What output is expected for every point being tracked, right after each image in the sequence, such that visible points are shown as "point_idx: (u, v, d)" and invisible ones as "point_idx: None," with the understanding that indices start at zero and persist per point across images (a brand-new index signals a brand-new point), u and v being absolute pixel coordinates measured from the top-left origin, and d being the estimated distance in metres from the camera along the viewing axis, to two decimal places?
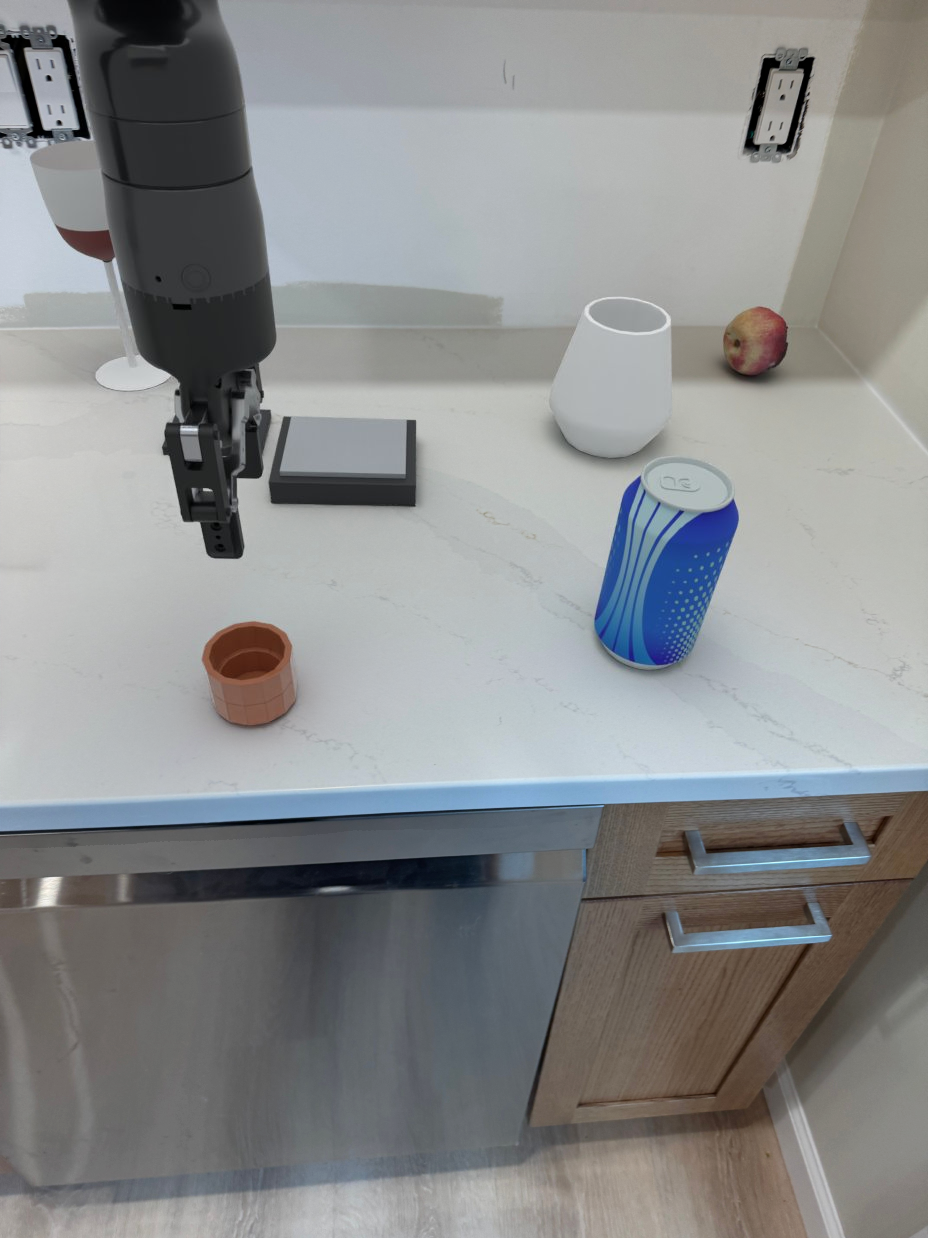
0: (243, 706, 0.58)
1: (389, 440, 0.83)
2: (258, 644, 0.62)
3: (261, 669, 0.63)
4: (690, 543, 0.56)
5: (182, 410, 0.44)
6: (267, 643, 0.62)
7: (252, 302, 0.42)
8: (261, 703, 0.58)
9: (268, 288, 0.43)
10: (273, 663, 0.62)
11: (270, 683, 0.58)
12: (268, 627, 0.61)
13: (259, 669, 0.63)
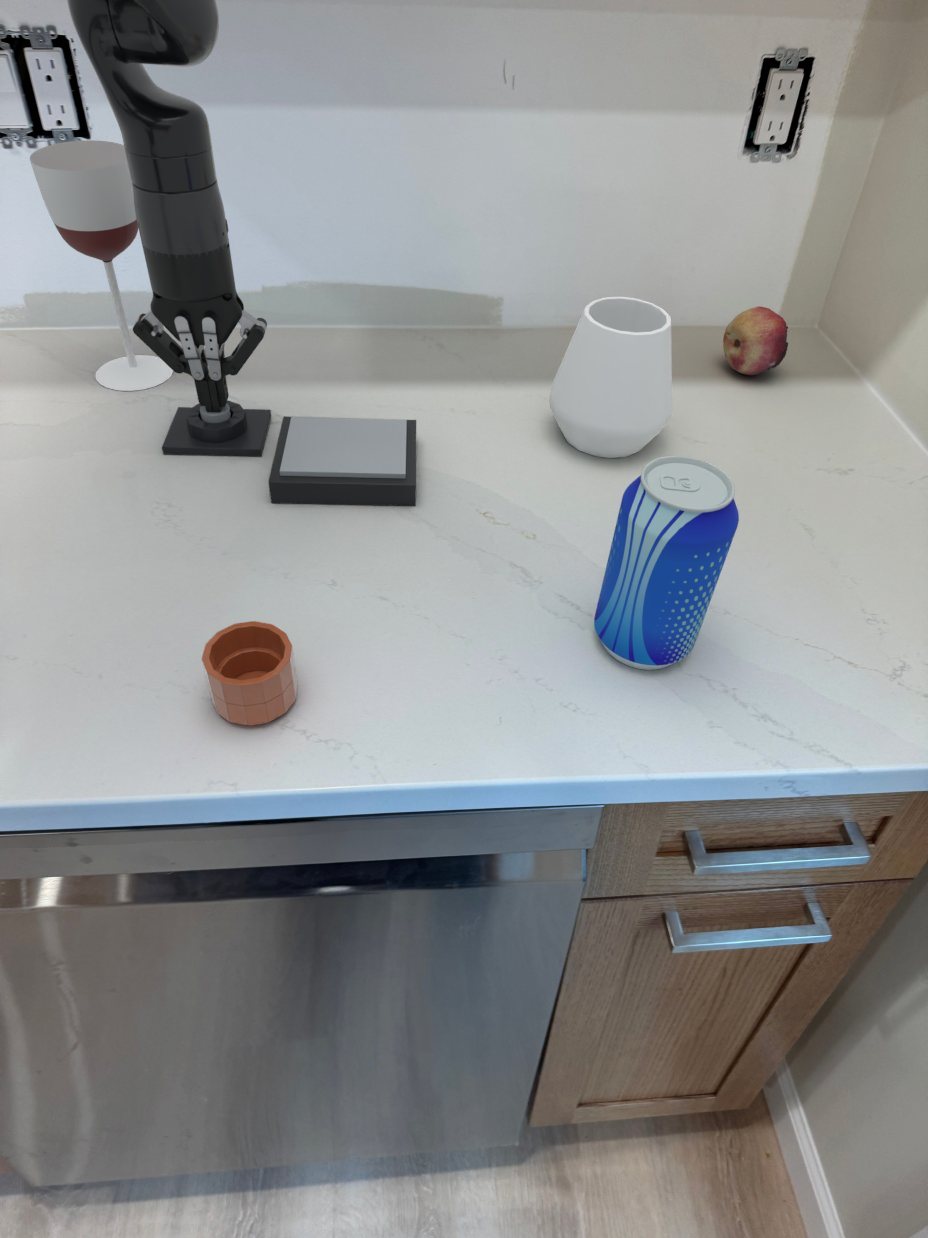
0: (243, 706, 0.58)
1: (389, 440, 0.83)
2: (258, 644, 0.62)
3: (261, 669, 0.63)
4: (690, 543, 0.56)
5: (238, 310, 0.77)
6: (267, 643, 0.62)
7: None
8: (261, 703, 0.58)
9: None
10: (273, 663, 0.62)
11: (270, 683, 0.58)
12: (268, 627, 0.61)
13: (259, 669, 0.63)
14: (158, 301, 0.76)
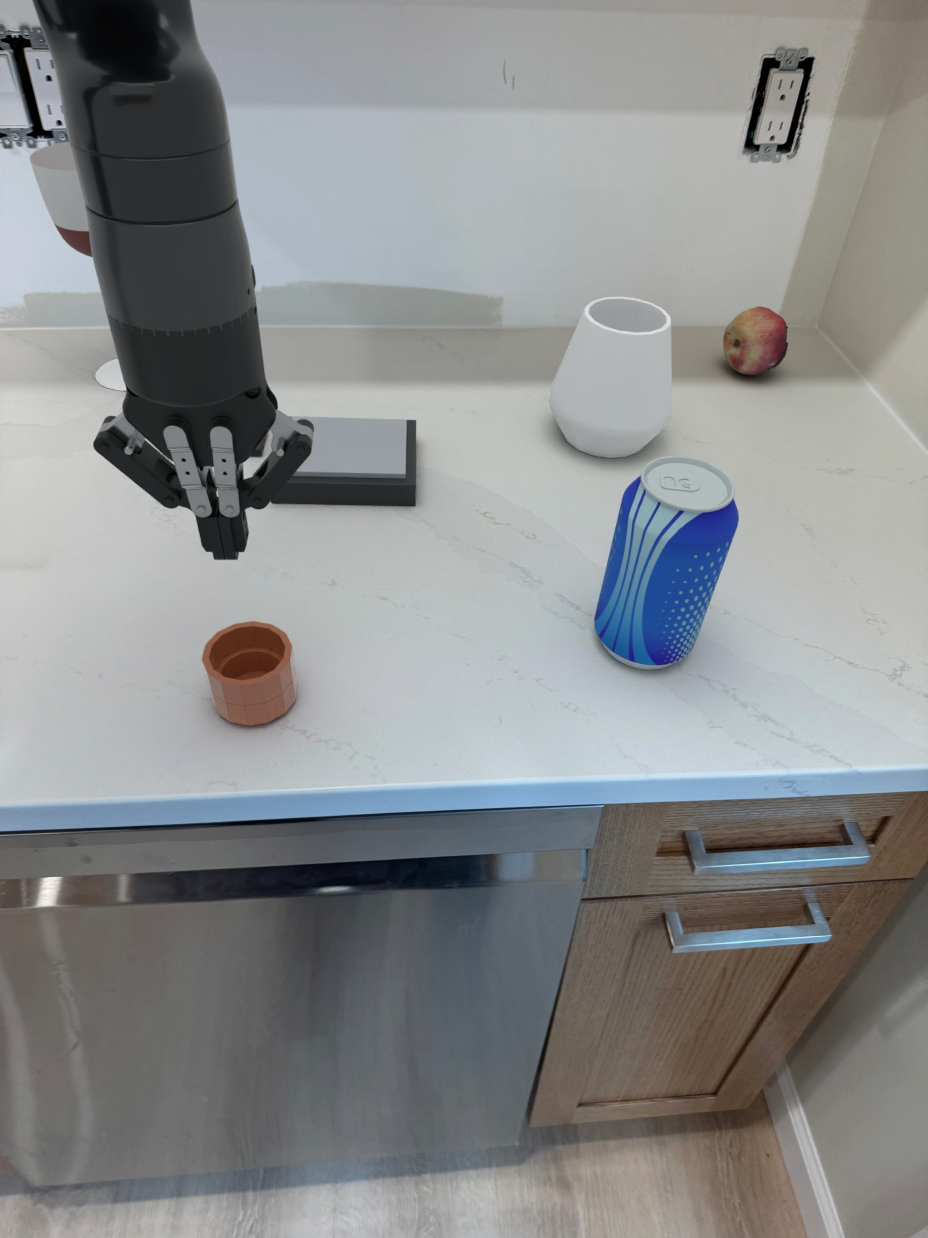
0: (243, 706, 0.58)
1: (389, 440, 0.83)
2: (258, 644, 0.62)
3: (261, 669, 0.63)
4: (690, 543, 0.56)
5: (270, 413, 0.46)
6: (267, 643, 0.62)
7: None
8: (261, 703, 0.58)
9: None
10: (273, 663, 0.62)
11: (270, 683, 0.58)
12: (268, 627, 0.61)
13: (259, 669, 0.63)
14: (135, 401, 0.45)
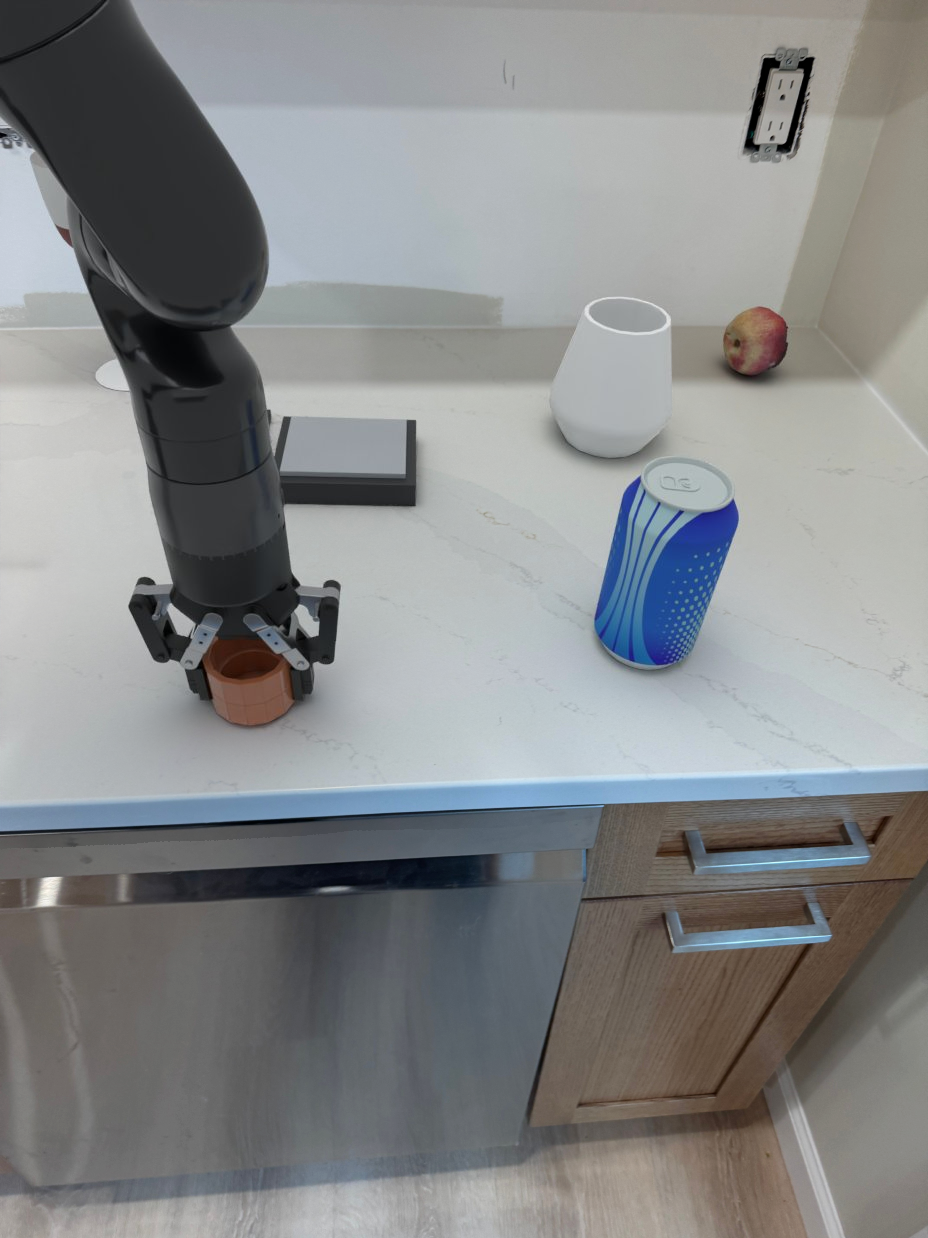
0: (243, 706, 0.58)
1: (389, 440, 0.83)
2: (258, 644, 0.62)
3: (261, 669, 0.63)
4: (690, 543, 0.56)
5: (294, 600, 0.54)
6: None
7: None
8: (261, 703, 0.58)
9: None
10: (273, 663, 0.62)
11: (270, 683, 0.58)
12: None
13: (259, 669, 0.63)
14: None
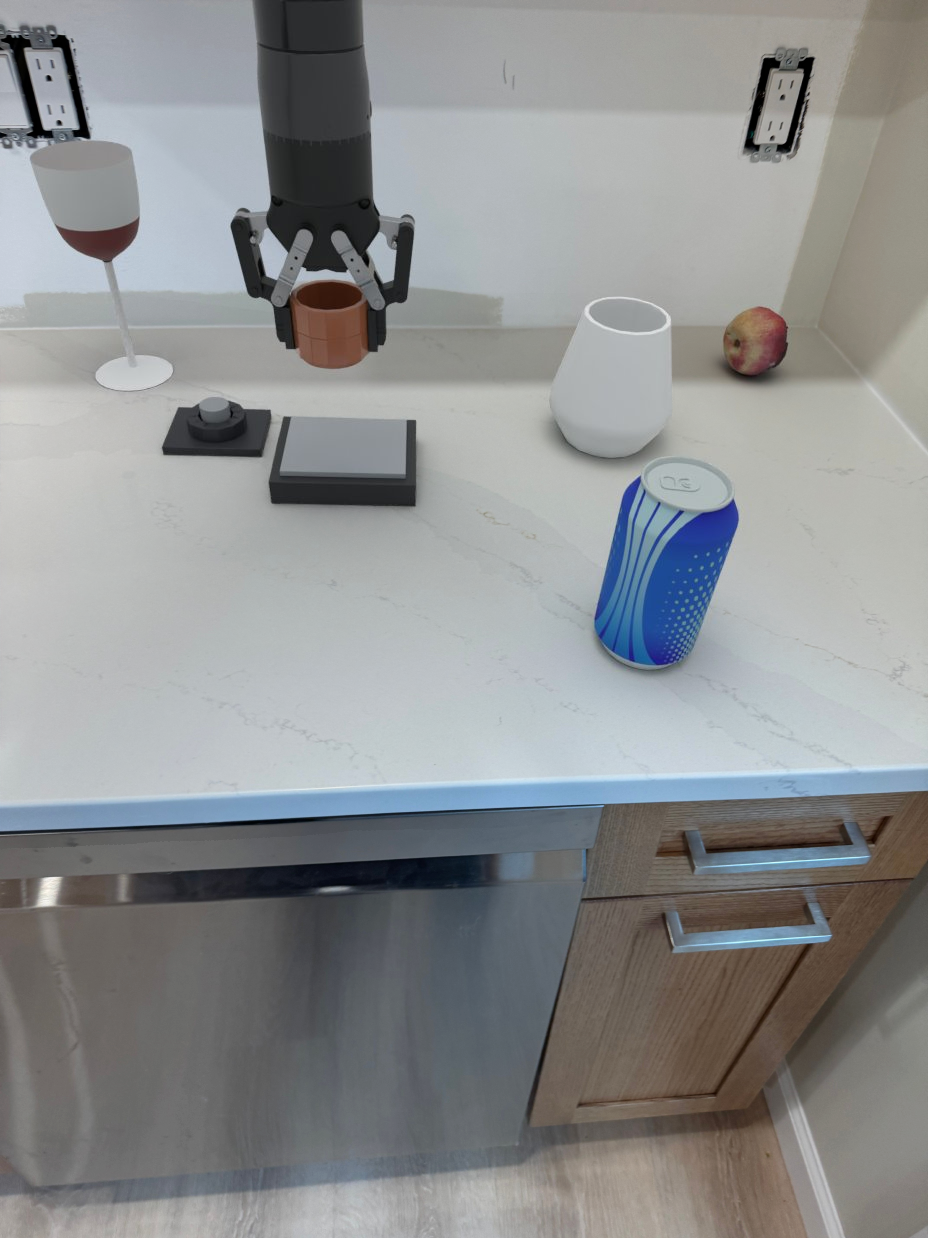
0: (326, 340, 0.65)
1: (389, 440, 0.83)
2: (336, 305, 0.69)
3: None
4: (690, 543, 0.56)
5: (376, 222, 0.61)
6: (344, 302, 0.69)
7: None
8: (342, 338, 0.65)
9: None
10: None
11: (351, 316, 0.65)
12: (346, 282, 0.68)
13: None
14: (284, 211, 0.60)
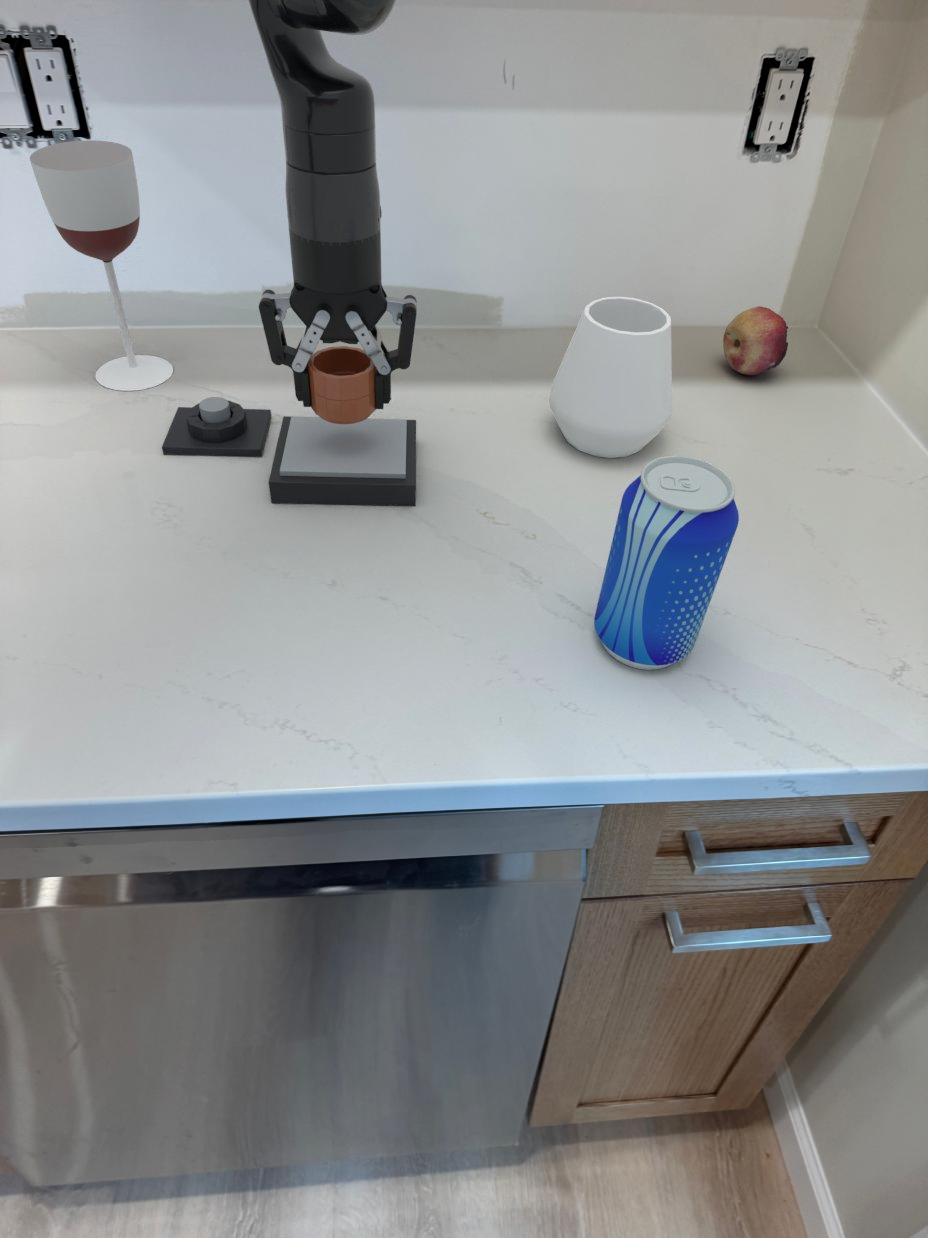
0: (340, 401, 0.75)
1: (389, 440, 0.83)
2: (346, 367, 0.79)
3: None
4: (690, 543, 0.56)
5: (384, 303, 0.71)
6: (354, 365, 0.79)
7: None
8: (353, 399, 0.76)
9: None
10: None
11: (361, 381, 0.75)
12: (355, 349, 0.78)
13: None
14: (305, 294, 0.70)
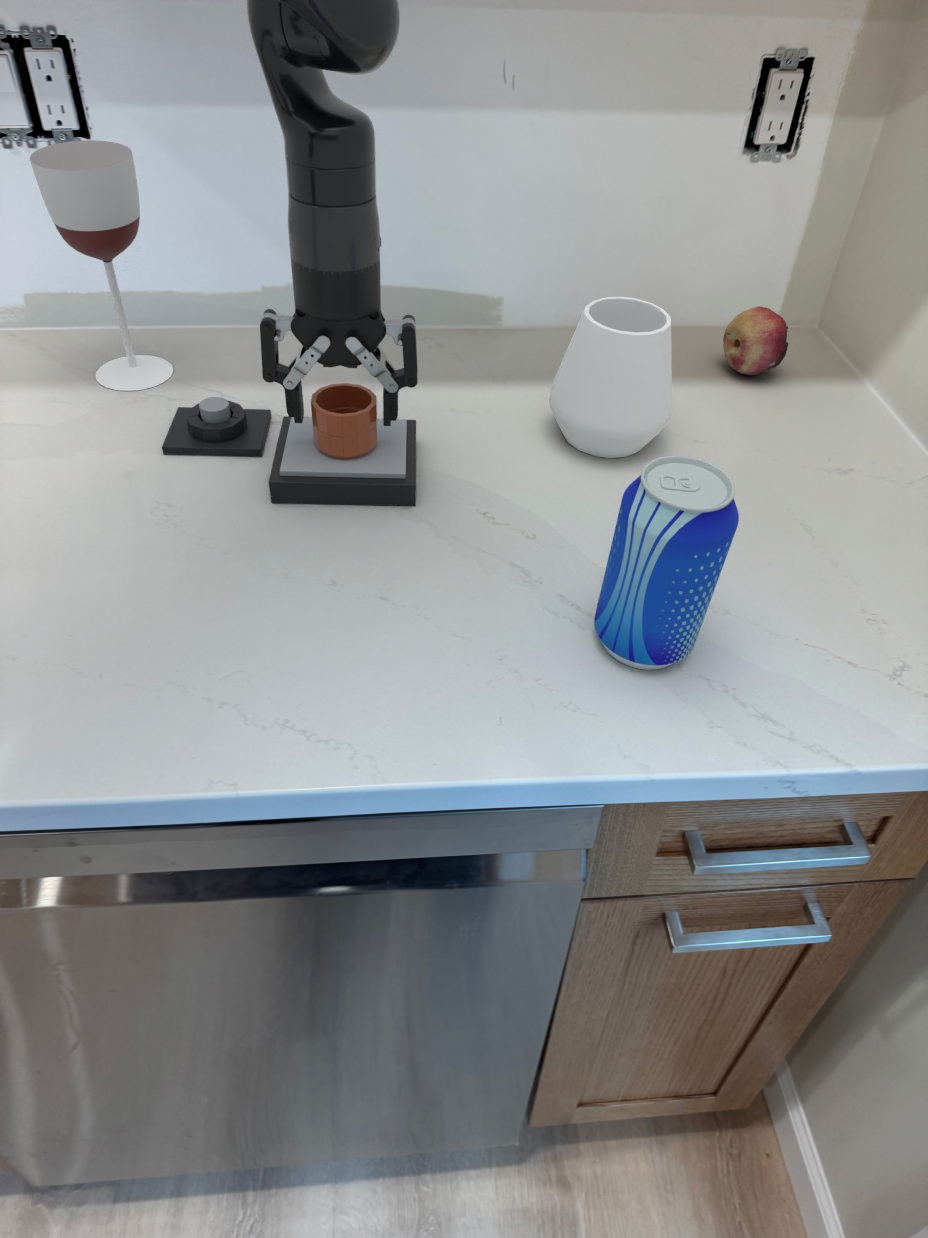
0: (342, 437, 0.78)
1: (389, 440, 0.83)
2: (348, 403, 0.82)
3: None
4: (690, 543, 0.56)
5: (383, 329, 0.73)
6: (355, 401, 0.82)
7: None
8: (354, 436, 0.78)
9: None
10: None
11: (362, 418, 0.77)
12: (357, 386, 0.81)
13: None
14: (308, 321, 0.72)
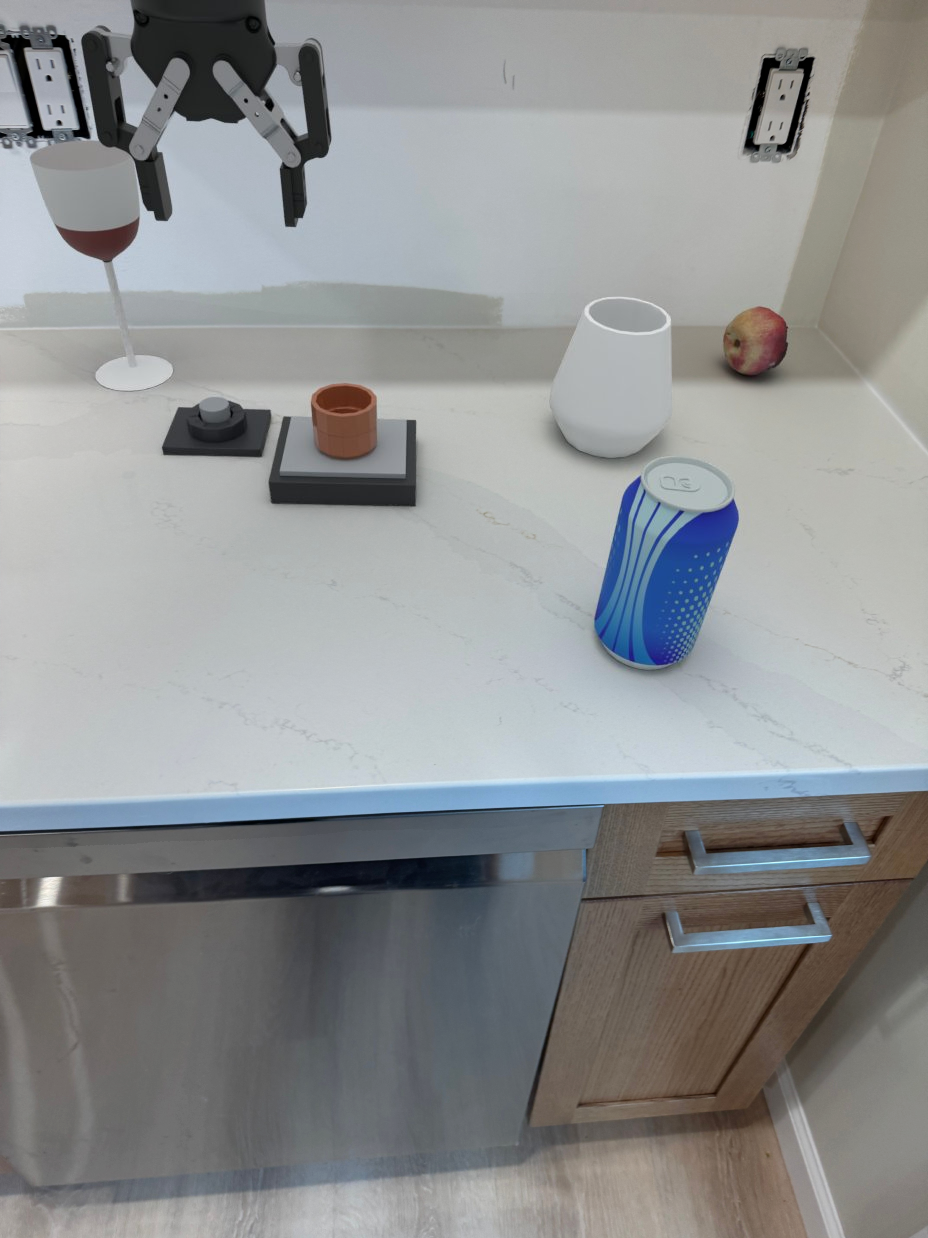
0: (342, 437, 0.78)
1: (389, 440, 0.83)
2: (348, 403, 0.82)
3: None
4: (690, 543, 0.56)
5: (270, 53, 0.48)
6: (355, 401, 0.82)
7: None
8: (354, 436, 0.78)
9: None
10: None
11: (362, 418, 0.77)
12: (357, 386, 0.81)
13: None
14: (154, 36, 0.48)
